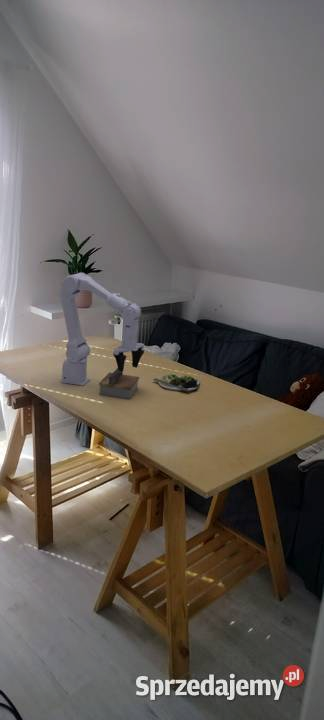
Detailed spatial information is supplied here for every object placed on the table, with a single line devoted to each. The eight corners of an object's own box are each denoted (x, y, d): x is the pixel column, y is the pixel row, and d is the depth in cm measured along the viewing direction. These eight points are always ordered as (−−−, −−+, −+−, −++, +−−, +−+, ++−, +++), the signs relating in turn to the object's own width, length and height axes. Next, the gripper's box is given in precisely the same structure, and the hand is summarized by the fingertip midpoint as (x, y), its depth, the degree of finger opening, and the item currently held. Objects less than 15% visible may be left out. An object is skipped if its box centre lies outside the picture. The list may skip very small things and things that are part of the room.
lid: (99, 385, 197) (99, 375, 196) (109, 374, 209) (109, 365, 208) (130, 390, 195) (131, 380, 194) (138, 379, 207) (139, 369, 206)
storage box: (99, 394, 199) (100, 385, 198) (109, 384, 210) (109, 375, 209) (129, 399, 197) (130, 390, 196) (137, 388, 208) (138, 379, 207)
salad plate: (148, 389, 209) (149, 379, 207) (157, 375, 225) (158, 365, 224) (195, 396, 206) (197, 385, 204) (201, 381, 222) (202, 371, 221)
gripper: (123, 341, 189) (121, 375, 193) (150, 335, 199) (148, 368, 203) (110, 336, 193) (108, 370, 198) (137, 331, 204) (135, 363, 208)
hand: (127, 368), depth 201 cm, fingers open, 7 cm apart
